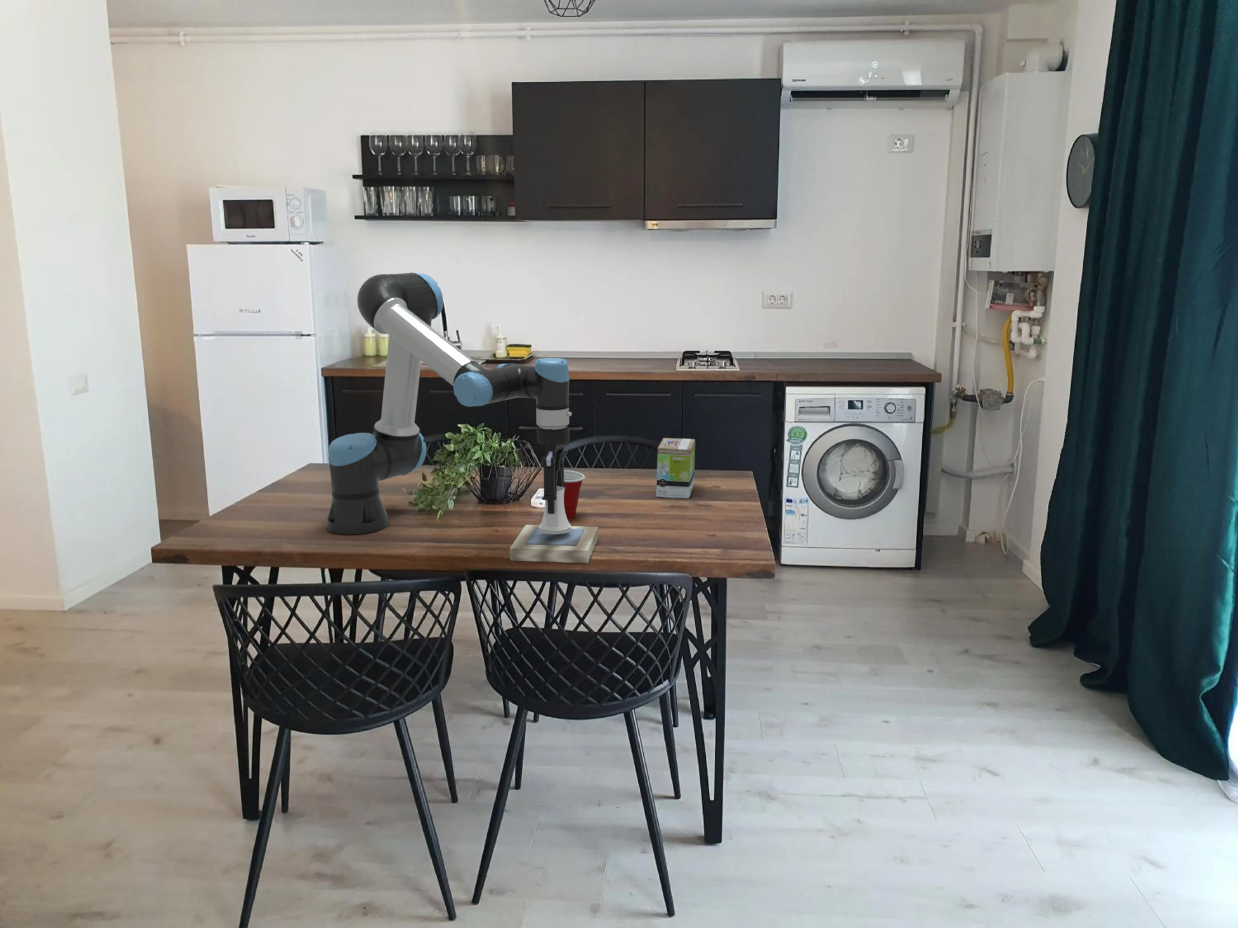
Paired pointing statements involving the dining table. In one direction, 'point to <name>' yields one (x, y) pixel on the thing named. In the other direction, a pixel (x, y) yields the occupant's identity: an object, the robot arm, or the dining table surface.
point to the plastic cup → (572, 492)
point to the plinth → (554, 545)
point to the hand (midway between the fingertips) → (554, 521)
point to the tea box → (675, 468)
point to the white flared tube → (562, 519)
